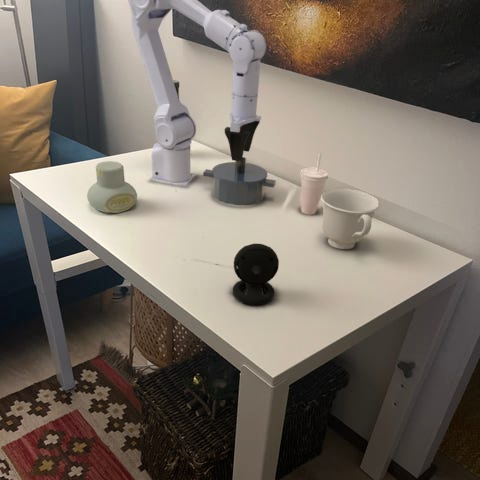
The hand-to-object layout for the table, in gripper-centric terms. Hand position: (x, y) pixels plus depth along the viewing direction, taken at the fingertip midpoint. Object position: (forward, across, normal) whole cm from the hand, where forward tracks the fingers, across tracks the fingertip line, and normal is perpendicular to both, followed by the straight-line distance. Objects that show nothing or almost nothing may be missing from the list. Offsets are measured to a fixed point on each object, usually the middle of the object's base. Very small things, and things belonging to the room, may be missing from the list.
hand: (240, 155), depth 118 cm
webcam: (+11, -42, -14) cm, 45 cm away
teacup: (+11, -16, -28) cm, 34 cm away
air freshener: (+11, -18, +25) cm, 32 cm away
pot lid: (+4, 0, 0) cm, 4 cm away
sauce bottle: (+11, +22, +26) cm, 36 cm away
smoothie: (+11, -2, -18) cm, 21 cm away
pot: (+10, 0, 0) cm, 10 cm away
